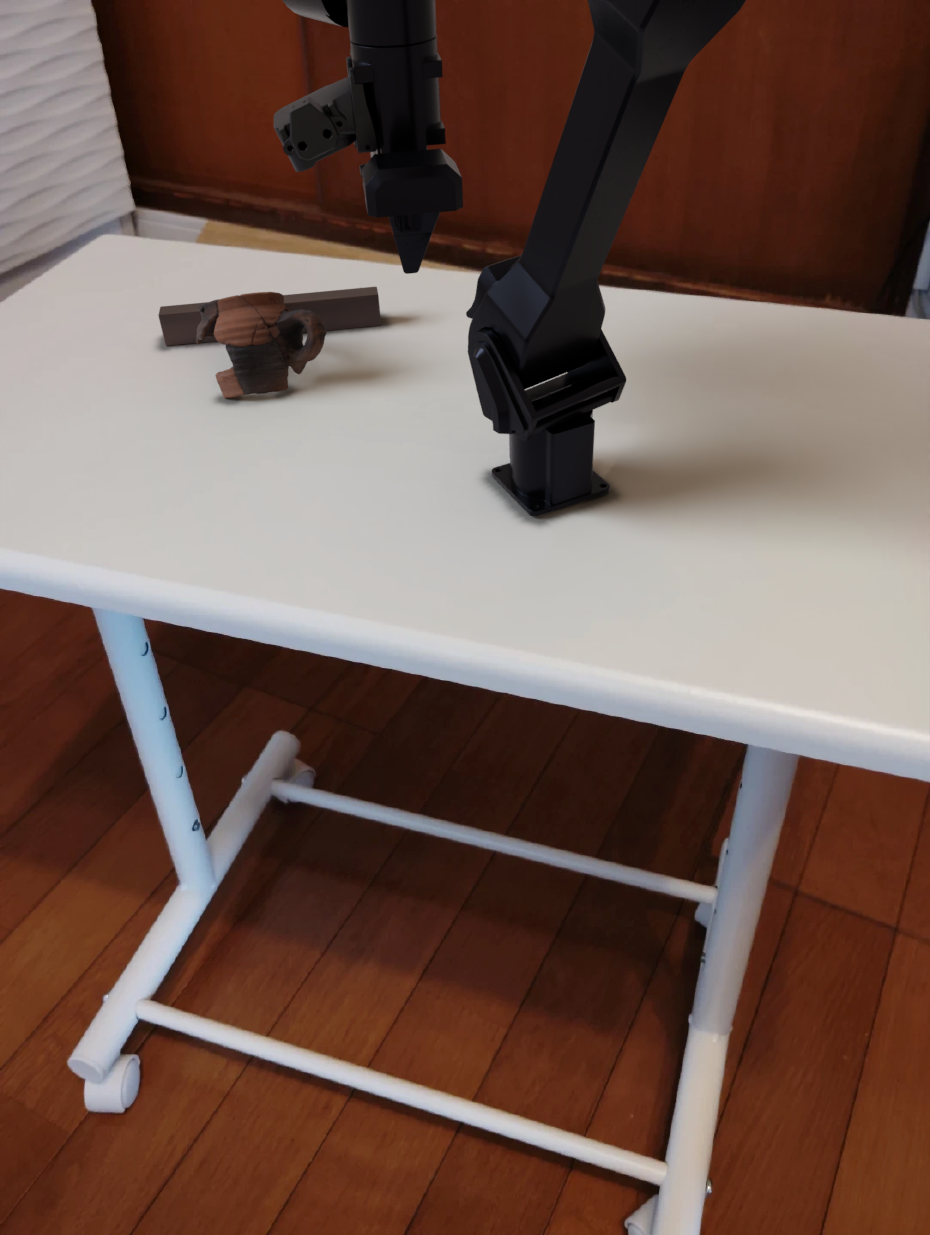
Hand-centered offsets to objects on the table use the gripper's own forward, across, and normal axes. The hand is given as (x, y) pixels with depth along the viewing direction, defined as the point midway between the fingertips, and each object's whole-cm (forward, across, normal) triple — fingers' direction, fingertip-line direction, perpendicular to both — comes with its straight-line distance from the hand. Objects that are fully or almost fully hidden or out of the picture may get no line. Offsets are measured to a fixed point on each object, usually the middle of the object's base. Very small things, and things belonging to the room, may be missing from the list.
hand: (410, 271), depth 77 cm
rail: (+11, -17, -12) cm, 23 cm away
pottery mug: (+11, -8, -13) cm, 19 cm away
